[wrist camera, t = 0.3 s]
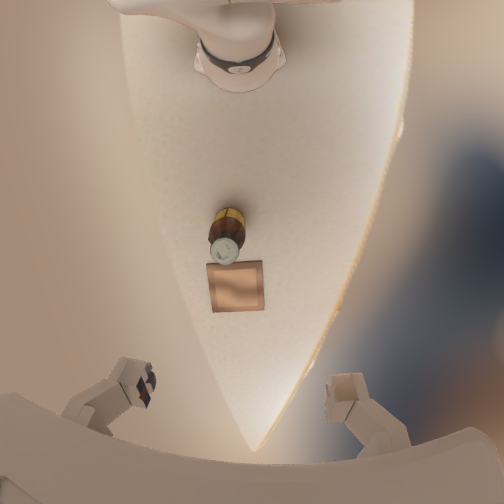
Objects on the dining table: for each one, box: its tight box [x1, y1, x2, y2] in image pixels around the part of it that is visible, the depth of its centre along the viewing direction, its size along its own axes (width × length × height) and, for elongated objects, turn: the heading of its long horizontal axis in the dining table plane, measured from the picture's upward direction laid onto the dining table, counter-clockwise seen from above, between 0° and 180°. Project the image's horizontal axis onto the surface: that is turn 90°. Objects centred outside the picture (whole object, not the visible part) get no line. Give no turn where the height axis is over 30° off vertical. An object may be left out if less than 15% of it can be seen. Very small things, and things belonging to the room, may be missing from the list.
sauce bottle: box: [208, 208, 245, 265], centre depth 47 cm, size 6×6×20 cm
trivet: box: [206, 261, 264, 313], centre depth 61 cm, size 12×12×1 cm
